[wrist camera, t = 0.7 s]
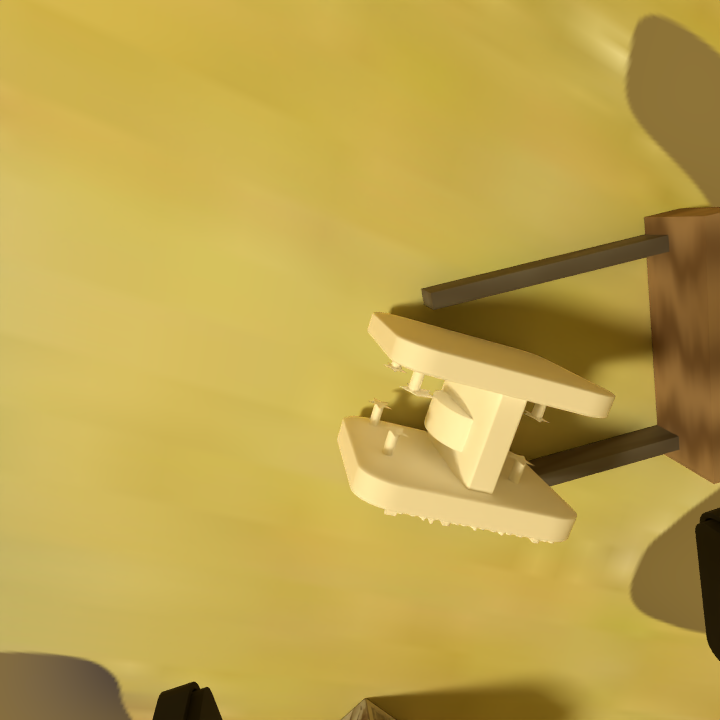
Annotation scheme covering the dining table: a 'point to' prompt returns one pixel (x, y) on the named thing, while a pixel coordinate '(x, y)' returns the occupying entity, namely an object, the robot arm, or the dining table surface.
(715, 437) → the guide track
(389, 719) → the coffee box
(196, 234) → the dining table surface
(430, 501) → the cable organizer
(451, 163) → the dining table surface
